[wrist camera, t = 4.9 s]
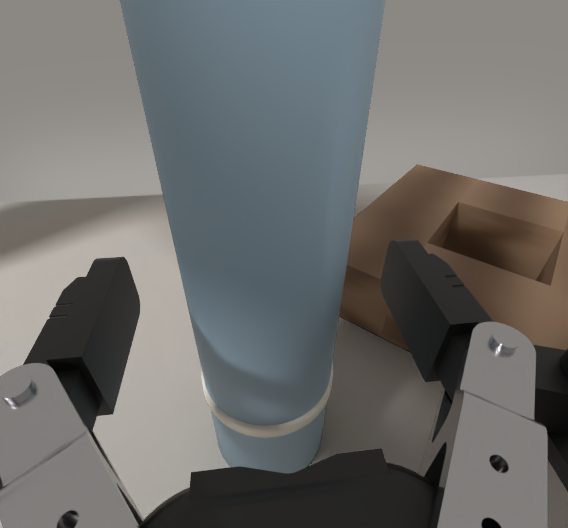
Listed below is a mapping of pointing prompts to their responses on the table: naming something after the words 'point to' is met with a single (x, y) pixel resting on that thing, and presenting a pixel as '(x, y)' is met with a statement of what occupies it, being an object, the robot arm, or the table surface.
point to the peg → (260, 196)
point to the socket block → (467, 251)
